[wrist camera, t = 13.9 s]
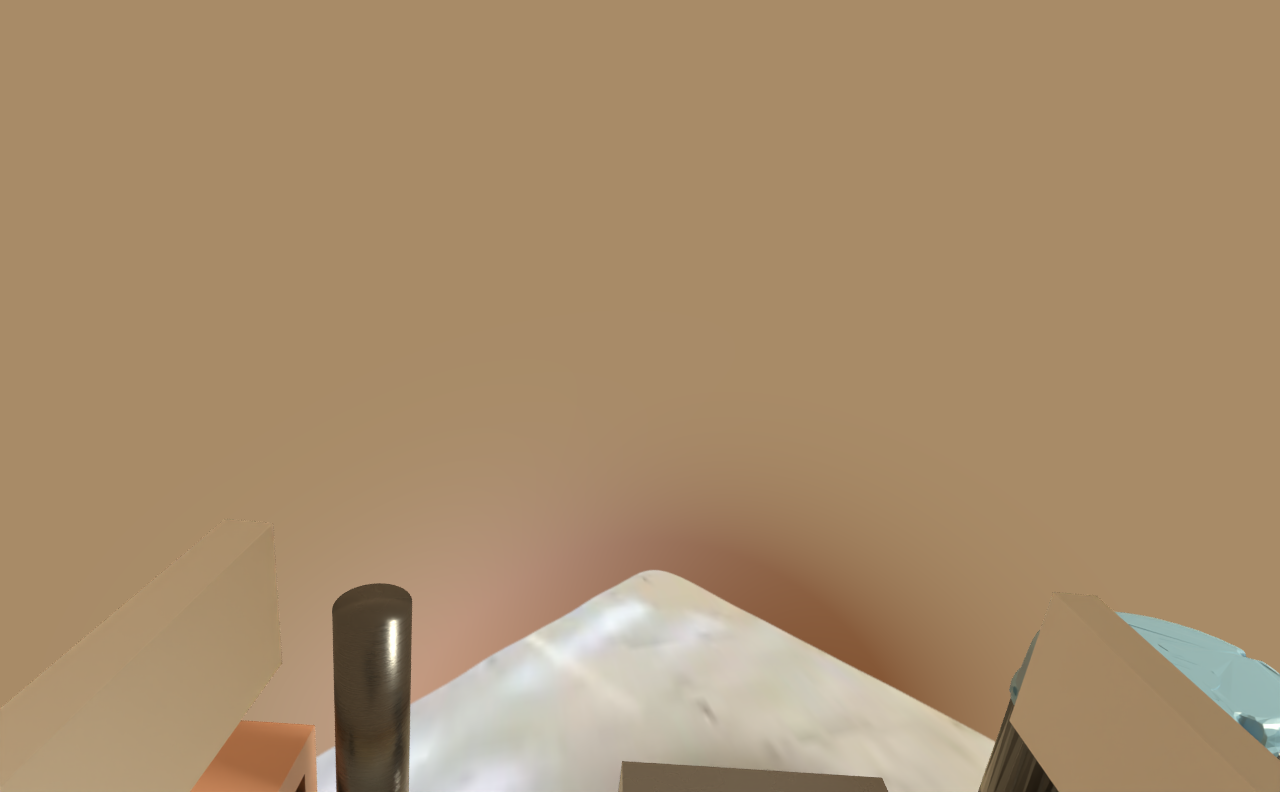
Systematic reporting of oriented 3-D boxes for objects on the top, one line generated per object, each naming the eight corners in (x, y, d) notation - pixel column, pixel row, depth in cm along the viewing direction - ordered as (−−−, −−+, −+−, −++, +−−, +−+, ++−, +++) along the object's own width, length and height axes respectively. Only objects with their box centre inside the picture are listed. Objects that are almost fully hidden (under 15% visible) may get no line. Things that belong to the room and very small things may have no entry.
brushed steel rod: (664, 887, 42) (712, 609, 36) (669, 950, 38) (722, 655, 32) (263, 866, 40) (243, 572, 34) (230, 930, 37) (202, 616, 31)
